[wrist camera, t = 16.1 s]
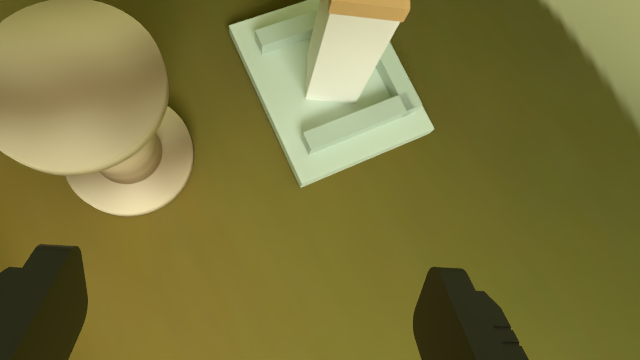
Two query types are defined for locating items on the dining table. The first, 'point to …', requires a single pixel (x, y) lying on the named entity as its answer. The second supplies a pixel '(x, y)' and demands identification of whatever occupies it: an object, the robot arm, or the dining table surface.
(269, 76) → the ridged board
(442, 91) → the dining table surface
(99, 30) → the bobbin
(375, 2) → the block
